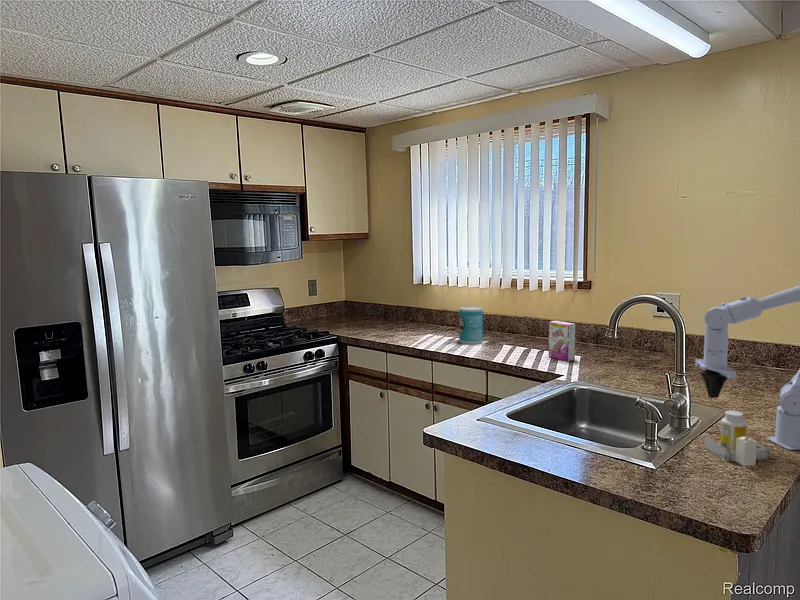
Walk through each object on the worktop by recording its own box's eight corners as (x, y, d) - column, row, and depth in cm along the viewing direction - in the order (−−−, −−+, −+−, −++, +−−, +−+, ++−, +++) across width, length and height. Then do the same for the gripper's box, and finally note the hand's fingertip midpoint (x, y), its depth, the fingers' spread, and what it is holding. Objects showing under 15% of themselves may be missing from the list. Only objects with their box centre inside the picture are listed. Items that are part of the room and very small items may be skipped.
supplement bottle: (747, 450, 142) (749, 412, 141) (742, 457, 138) (744, 418, 137) (722, 445, 146) (724, 408, 144) (717, 451, 142) (719, 413, 140)
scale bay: (743, 444, 145) (743, 436, 145) (768, 458, 137) (769, 449, 136) (704, 447, 144) (704, 438, 144) (727, 461, 136) (728, 452, 135)
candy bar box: (547, 357, 247) (548, 321, 245) (555, 355, 250) (555, 320, 248) (567, 362, 238) (568, 324, 236) (575, 360, 241) (576, 323, 238)
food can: (455, 343, 281) (455, 309, 279) (464, 339, 291) (464, 305, 289) (478, 345, 275) (477, 310, 273) (486, 341, 286) (486, 306, 283)
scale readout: (746, 460, 136) (747, 435, 135) (755, 465, 133) (756, 439, 132) (735, 461, 136) (736, 436, 135) (743, 466, 133) (745, 440, 132)
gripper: (686, 345, 159) (684, 390, 161) (719, 356, 145) (717, 406, 147) (709, 344, 160) (706, 389, 162) (744, 355, 146) (741, 404, 148)
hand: (713, 397), depth 154 cm, fingers closed
